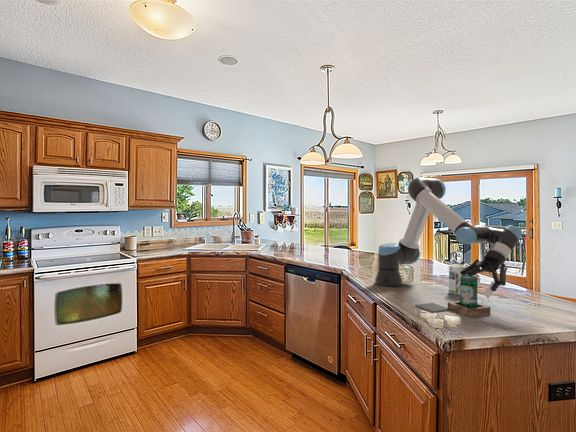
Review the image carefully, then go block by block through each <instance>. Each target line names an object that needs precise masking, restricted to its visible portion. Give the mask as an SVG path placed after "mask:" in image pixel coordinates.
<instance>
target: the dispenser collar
mask: <svg viewBox="0 0 576 432" xmlns="http://www.w3.org/2000/svg"><path fill="white" fill-rule="evenodd" d="M447 308H449V309H450V310H449V311H452V312H455V313H458V314H460V315H463V316H466V317H468V318H475V317H481V316H488V315H491V306H488V305H486V304H481V303H479V302H477V308H467V307H464V306H461V305H460V300H456V301H448V302H447Z"/></svg>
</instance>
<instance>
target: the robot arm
mask: <svg viewBox="0 0 576 432" xmlns="http://www.w3.org/2000/svg"><path fill="white" fill-rule="evenodd" d="M407 192H408V195H409V196H410V198H411V199H412V200H413V201H414V202H416V203H415V205H414V207H413V211H412V213H411V217H410V219H409V222H408V225H407V227H406V230H405V232H404V235H403V238H400V239H399V242H398V243H395V242H394V243H393V242H389V243H383V244H380V245H379V246H378V251H377V252H378V257H377V258H378V259H377V260H378V261H377V262H378V263H377V264H378V268H377V269H378V270H377V273H376V276H375V281H374V282H375V283H374V284H375V285H378V286H382V287H392V288H393V287H394V288H395V287H401V286H402V285H403V279H402V276H401V273H400V266H401V265H411V264H414V263H417V261H418V260H420V257H421V252H420V251H421V250H420V245H419V242H420V239H421V236H422V233H423V231H424V229H425V226H426V224H427V221H428V218H429V216H430V213H431V214H432V215H433V216H434V217H435V218H437V219H438V220H439V221H440V222H441V223H442V224H443V225H445V227H447V228H448V229H449V230H450V231H451V232H452V233H454V235H455V239H456V241H457V242H458V243H460V244H463V245H472V244H483V243H486V244H489V245H490V244H491V246H490V247H489V249H488V251H487V252H486V253H485V255H484V257H483V260H479V259H475V260H474V261H473V263H470V264H469V265H468V266H467V267H466V266H465V267H466V268H465V269H464V270H462V271H461V272H460V274H461V275H462V276H464V275H467V276H475V275H478V274H479V273H489V274H492V277H493V281H491V282H490V284H489V285H488V286H487V288H486V290H485V291H484V292H483V294H484V296H485V297H486V298H487V299H490V297H491V296H492V294H493V292H496V291H497V289H498V288H499V287H500V286H503V287H504V286H506V285H507V281H506V279H507V277H506V275H507V271H508V267H507V266H506V264H505V262H506V260H507V259H508V258H509V256H510V255H511V253H512V252H513V250H514V248H515V247H516V246H517V244H518V243H519V242H520V240H521V238H522V236H523V232H522V230H521V229H520V228H519V227H517V226H514V225H512V224H511V225H506V226H505V227H503V229H502V228H497V227H495V228H494V227H489V226H486V225H478V224H477V225H476V224H475V225H474V226H472V225H471V224H470V223H469V222H467V221H466V219H464V218H463V217H462V216H460V215H459V214H458V213H457V212H455V210H453V209H452V208H451V207H449V205H447V204H446V203H445V202H443V200H441V199H442V198H443V197H445V194H446V185H445V183H444V182H443V181H442V180H441V179H439V178H435V177H421V176H420V177H416V178H414V179H412V180H411V181H410V182H409V184H408V186H407ZM498 270H499V276H498ZM460 281H461V278H460V280H459V283H458V284H457V286H456V287H457V288H458V289H459V290H460Z"/></svg>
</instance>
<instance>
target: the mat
mask: <svg viewBox="0 0 576 432" xmlns="http://www.w3.org/2000/svg"><path fill="white" fill-rule="evenodd" d="M414 306H415V307H417V308H418V309H422V310H424V311H426V312H428V313H429V312H430V313H432V314H433V313H439V312H441V313H442V312H448V311H451V310H450V309H449V308H448V307H447V306H443V305H440V304H437V303H434V302H428V303H427V302H426V303H419V304H415V305H414Z"/></svg>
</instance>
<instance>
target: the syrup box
mask: <svg viewBox="0 0 576 432" xmlns="http://www.w3.org/2000/svg"><path fill="white" fill-rule="evenodd" d="M465 268H466V266H462V265H458V264H457V265H456V264H450V265H448V294H449V293H450V294H453V295H456V296H460V290H459V289H458V288H457V287H456V286H457V284H458V283H459V280H460V278H461V276H462V275H461V274H460V272H461V271H462V270H464V269H465Z"/></svg>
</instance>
